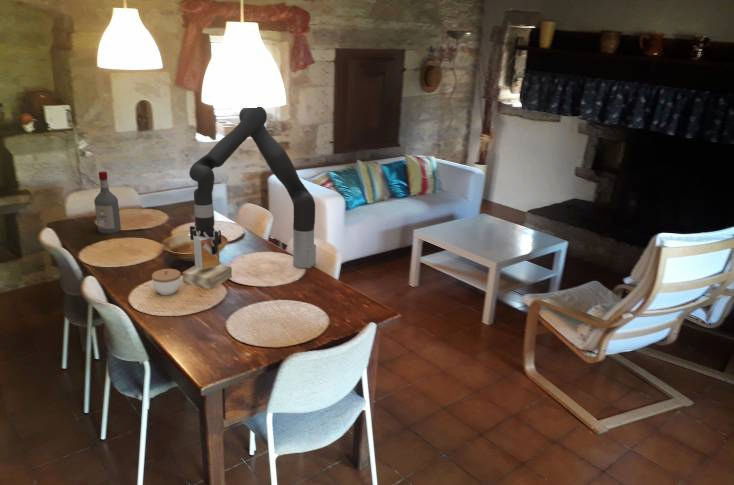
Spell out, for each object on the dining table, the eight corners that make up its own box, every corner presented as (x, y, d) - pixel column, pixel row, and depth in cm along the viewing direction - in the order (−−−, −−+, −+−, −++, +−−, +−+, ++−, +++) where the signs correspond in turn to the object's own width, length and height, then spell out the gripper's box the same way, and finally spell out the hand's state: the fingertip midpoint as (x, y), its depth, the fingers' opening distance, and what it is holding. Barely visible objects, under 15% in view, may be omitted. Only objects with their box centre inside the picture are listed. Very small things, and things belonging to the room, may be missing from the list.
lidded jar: (152, 299, 221) (150, 276, 218) (154, 287, 231) (152, 265, 227) (181, 296, 224) (180, 274, 221) (182, 285, 234) (180, 264, 230)
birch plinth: (231, 277, 244) (231, 266, 242) (212, 290, 231) (211, 278, 230) (204, 271, 248) (203, 260, 246) (183, 283, 236) (182, 272, 234)
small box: (202, 270, 233) (200, 240, 228) (194, 265, 237) (192, 236, 232) (220, 265, 238) (218, 236, 234) (212, 261, 242) (210, 231, 238)
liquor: (113, 234, 283) (105, 175, 273) (95, 232, 284) (88, 173, 274) (123, 228, 292) (116, 171, 281) (106, 227, 293) (99, 169, 282)
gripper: (224, 214, 230) (226, 252, 236) (196, 208, 235) (198, 246, 241) (212, 219, 224) (214, 258, 229) (183, 213, 229) (186, 251, 235)
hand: (206, 252), depth 235 cm, fingers closed on small box, 7 cm apart
